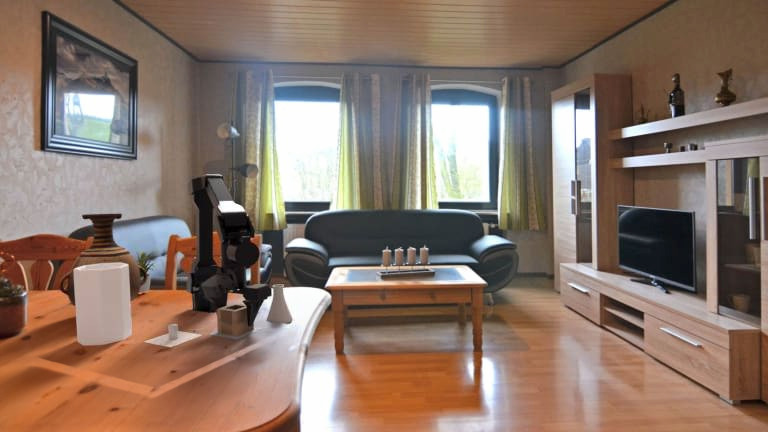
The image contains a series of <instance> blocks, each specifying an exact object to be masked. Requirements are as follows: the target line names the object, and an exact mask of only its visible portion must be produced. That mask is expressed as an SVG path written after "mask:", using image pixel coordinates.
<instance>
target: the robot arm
mask: <svg viewBox="0 0 768 432" xmlns="http://www.w3.org/2000/svg"><path fill="white" fill-rule="evenodd" d="M187 193H188V195H189V200H190V201H191V203H192V205H193V206H194V207H195V223H196V227H195V228H196V229H195V231H196V232H195V233H196V235H195V237H196V239H195V240H196V242H195V243H196V244H195V245H196V248H195V249H196V252H195V253H196V254H195V255H196V256H195V258H194V260H193V261H192V263H191V265H190V270H189V271H190V272H189V273H188V275H187V279H186V280H187V281H186V286H185V287H186V292H188V293H189V294H191V295H192V296H191V297H192V298H191V299H192V301H191V302H192V309H190V311H196V312H202V313H212V312H214V311H215V314H216V315H217V309H219V308H222V307H225V306H228V304H227V303H228V298H229V297H228V296H229V294H237V295H242V297H243V299H244V300H242V304H245V305H246V308H247V322H248V326H249V327H250V326H252V325H253V323H254V324H255V320H256V318H257V315H258V313H259V312H260V308H261V307H262V305H263V304H264V302H265V300H268V298H269V297H273V288H272V286H270V285H269V284H266V283H265V284H264V283H255V284H251V280H248V279H247V269H251V268H250V267H251V266H254V265H255V264H257V262H258V261H259V260H260V259H259V258H260V249H259V247H258V245H257V244H256V243H255V242H252V240H251V239H253V238H255V232H256V230H255V228H254V224H253V223H252V220H251V218H250V216H249V214H248V213H247V211H246V209H244V207H243V206H242V205H240V204H238V203H235V201H234V200H233V198H232V196H231V194H230V192H229V190H228V188H227V186H226V184H225V181H224V176H223V175H221V174H219V173H215V174H214V173H211V174H210V173H205V174H203V175H201V176H198V177H196V178H192V179H190V180H189V181H188V183H187ZM214 211H215V216H214ZM214 228H215V232H216V233H217V236H218V238H219V241H220V259H221V261H220V263H221V265H218V264H217V262H216V261H215V259H214Z"/></svg>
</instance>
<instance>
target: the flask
mask: <svg viewBox="0 0 768 432" xmlns="http://www.w3.org/2000/svg"><path fill="white" fill-rule="evenodd" d="M284 287H285V285H284V284H282V283H281V284H278V283H277V284H273V285H272V286H271V289H272V301H271V304H270V307H269V311H268V314H267V316H266V320H265V321H266V322H273V323H280V324H288V323H291V322H292V321H293V316H292V313H291V311H290V308H289V306H288V304H287V303H288V302H287V301H286V298H285V295H284Z"/></svg>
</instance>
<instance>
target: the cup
mask: <svg viewBox="0 0 768 432" xmlns="http://www.w3.org/2000/svg"><path fill="white" fill-rule="evenodd" d="M73 273H74V289H75V306H74V307H75V321H76V335H77V336H76V337H77V338H76V339H77V343H79V344H81V345H82V346H104V345H108V344H111V343H117V342H121V341H124V340H126V339H127V338H129V337H130V336H131V335H133V326H132V325H133V323H132V307H131V302H132V301H131V302H130V282H129V265H128V264H125V263H100V264H92V265H84V266H81V267H77V268H75V269H73Z"/></svg>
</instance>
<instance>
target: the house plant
mask: <svg viewBox="0 0 768 432" xmlns="http://www.w3.org/2000/svg"><path fill="white" fill-rule="evenodd" d="M156 251H158V249H155V250H152V251H151V252H150V253H147V251H145V252H144V250H142V251H141V252H140V254H139V252H138V251H137V249H134V252H135V253H136V255H137V260H138V261H137V264H138V265H139V266H141V267H142V268H144V269H145V270H146V272H147V280H146V282H145V284H143V285H142V286H141V287H140V290H139V292H145V291H149V292H150V287H151V280H152V279H151V278H152V277H151V276H152V274H151V273H148V271H149V270H150V269H151V270H152V271H154V269H153V268H156V265H154V264H155V263H156V261H154V262H152V263H151V261H152V260H153V258H154V257H155V256H157V255H158V256H159V254H160V251H158V252H156ZM157 253H158V254H157ZM152 255H153V256H152ZM134 259H135V257H134ZM135 260H136V259H135ZM151 267H153V268H151ZM139 271H140V280H143V278H144V274H143V272H142V271H141V270H139Z"/></svg>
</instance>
